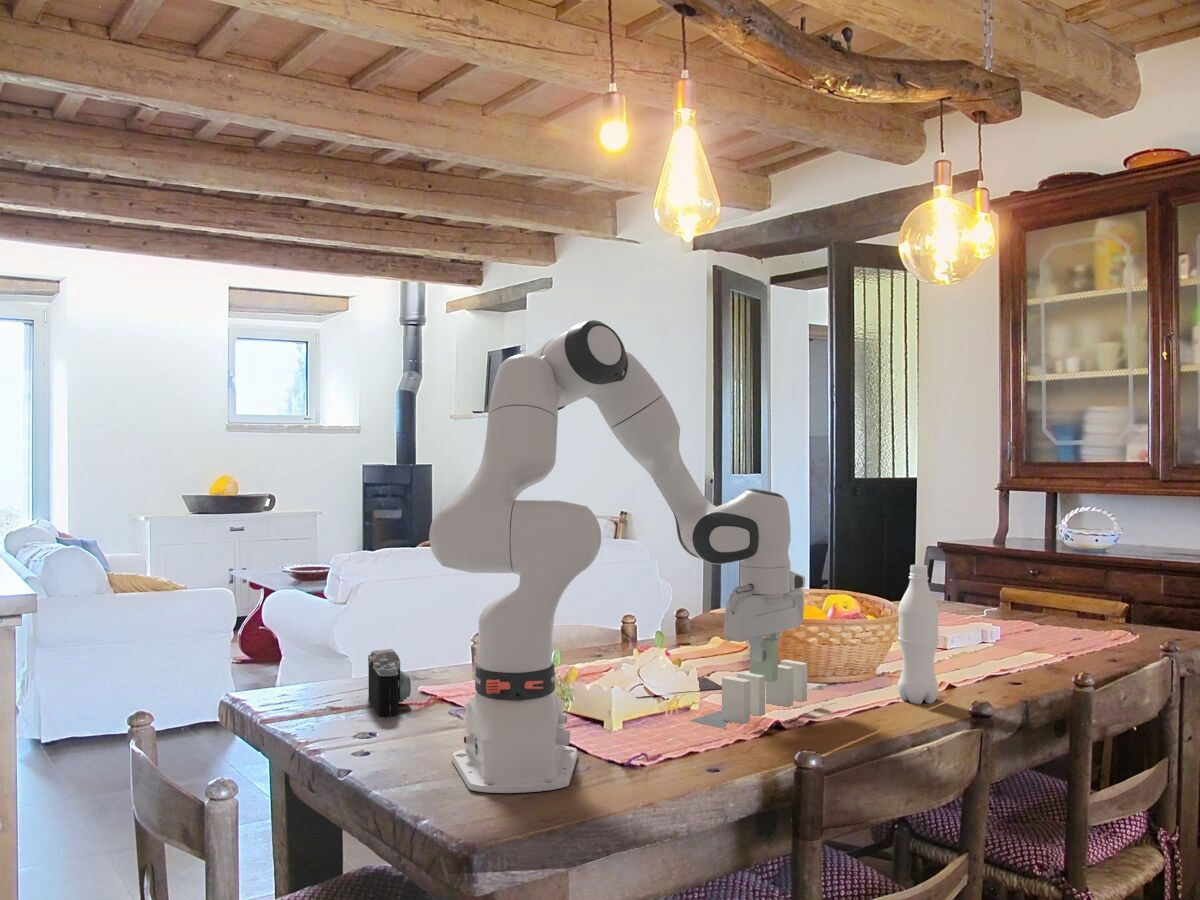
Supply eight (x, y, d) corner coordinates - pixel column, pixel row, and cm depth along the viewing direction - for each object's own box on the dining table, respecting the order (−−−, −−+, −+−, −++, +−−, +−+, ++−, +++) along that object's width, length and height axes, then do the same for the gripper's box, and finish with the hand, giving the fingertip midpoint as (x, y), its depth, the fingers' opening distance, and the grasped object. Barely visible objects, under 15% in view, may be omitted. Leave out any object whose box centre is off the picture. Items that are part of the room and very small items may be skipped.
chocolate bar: (725, 688, 199) (636, 695, 193) (725, 693, 199) (636, 700, 193) (706, 677, 207) (620, 684, 202) (706, 682, 207) (620, 688, 202)
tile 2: (759, 719, 178) (759, 677, 178) (736, 714, 181) (737, 673, 181) (765, 717, 179) (765, 675, 179) (742, 712, 182) (743, 671, 182)
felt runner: (748, 736, 169) (748, 734, 169) (689, 722, 177) (689, 720, 177) (836, 703, 189) (836, 702, 189) (780, 692, 198) (780, 690, 198)
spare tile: (772, 682, 181) (772, 641, 181) (749, 678, 185) (750, 637, 184) (777, 680, 183) (778, 639, 183) (755, 676, 186) (756, 636, 186)
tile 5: (801, 704, 188) (801, 664, 187) (780, 700, 191) (780, 660, 191) (807, 702, 189) (807, 663, 189) (785, 698, 192) (785, 659, 192)
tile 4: (787, 709, 184) (788, 668, 184) (766, 704, 187) (766, 664, 187) (793, 707, 186) (793, 667, 185) (771, 702, 189) (771, 663, 189)
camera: (417, 715, 181) (417, 658, 181) (378, 719, 179) (378, 661, 179) (402, 695, 195) (402, 642, 195) (365, 698, 193) (365, 644, 193)
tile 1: (744, 725, 174) (744, 682, 174) (721, 719, 177) (722, 677, 177) (750, 722, 176) (750, 680, 176) (728, 717, 179) (728, 676, 179)
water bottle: (940, 699, 193) (941, 564, 193) (935, 708, 186) (936, 569, 186) (900, 694, 196) (901, 562, 196) (894, 703, 189) (895, 566, 189)
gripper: (746, 590, 173) (746, 672, 174) (810, 577, 189) (809, 652, 189) (715, 586, 178) (715, 666, 178) (780, 573, 193) (780, 647, 193)
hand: (764, 659), depth 184 cm, fingers closed on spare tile, 2 cm apart
